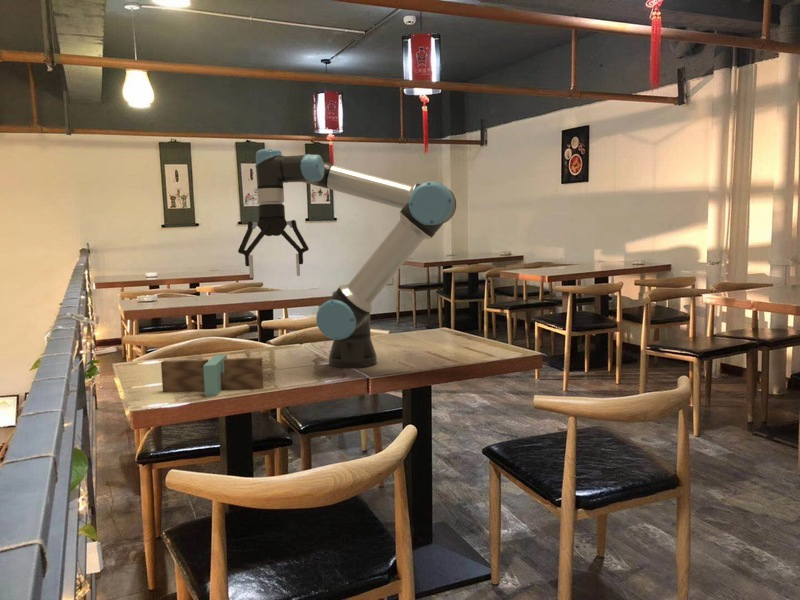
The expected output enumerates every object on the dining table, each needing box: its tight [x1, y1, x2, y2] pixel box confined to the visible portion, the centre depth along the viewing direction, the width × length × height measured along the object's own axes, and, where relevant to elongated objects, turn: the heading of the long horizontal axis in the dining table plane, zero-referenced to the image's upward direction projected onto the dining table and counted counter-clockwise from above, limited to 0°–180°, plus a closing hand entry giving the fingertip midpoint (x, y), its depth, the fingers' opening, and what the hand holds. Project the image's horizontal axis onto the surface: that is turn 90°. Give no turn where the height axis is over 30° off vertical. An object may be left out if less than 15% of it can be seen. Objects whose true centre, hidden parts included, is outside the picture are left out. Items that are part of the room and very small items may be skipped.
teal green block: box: [203, 354, 228, 397], centre depth 166 cm, size 3×14×8 cm, turn 4°
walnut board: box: [160, 357, 264, 393], centre depth 166 cm, size 26×2×8 cm, turn 94°
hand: (275, 276), depth 183 cm, fingers open, 13 cm apart
